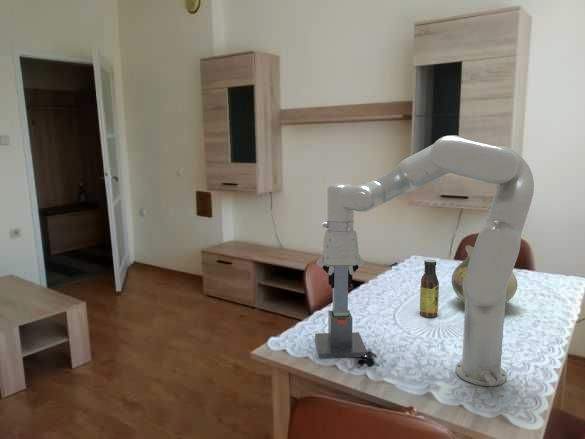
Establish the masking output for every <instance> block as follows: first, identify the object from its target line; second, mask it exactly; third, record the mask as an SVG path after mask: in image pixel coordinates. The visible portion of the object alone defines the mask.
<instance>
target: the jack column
mask: <svg viewBox="0 0 585 439" xmlns="http://www.w3.org/2000/svg"><path fill="white" fill-rule="evenodd" d="M333 274H334V288H332V308H331V311H332V312H333V317H348V310H349V288H348V266H334V268H333Z"/></svg>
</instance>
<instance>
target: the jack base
mask: <svg viewBox="0 0 585 439" xmlns="http://www.w3.org/2000/svg"><path fill="white" fill-rule="evenodd" d="M327 314H328V317H327V319H328V320H327V321H328V325H327V326H328V327H327V328H328V330H327V333H326V332H325V333H323V332H322V333H321V332H320V333H319V332H318V333H314V338H315V339H314V340H315V346H316V349H317V350H316V351H317V354H318V355H317V356H318V358H319V359H339V358H341V359H342V358H346V359H347V358H362V357H361V356H365V355H366V353H367V354H368V350H367V349H366V348H367V347H366V346H365V343H364V340H363V339H362V336H361V334H360V331H359V332H357V331H356V332H354V331H353V316H352V314H351V311H350V310H349V309H348V317H333V312H332V310H328V313H327Z"/></svg>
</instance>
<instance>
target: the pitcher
mask: <svg viewBox="0 0 585 439" xmlns="http://www.w3.org/2000/svg"><path fill="white" fill-rule="evenodd" d="M474 246H475V245H473V244H470V243H469V244H466V245H465V246H464V247H465V252H466V254H467V256H466V258H465V259H464V260H463V261H462V262H460V264H458V266H456V267H455V268H454V270H453V272H452V274H451V287H452V289H453V292H454V293H455V295H456V296H457V297H458V298H459V300H461V301H462V302H463V305H464V307H465V301H466V296H465V294H464V291H463V279H464V277H465V274H466V271H467V267H468V264H469V261H470V258H471V255H472V252H473V249H474ZM517 290H518V279H517V277H516V275H515V273H514V272H513V271H512V274H511V277H510V280H509V282H508V285H507V288H506V299H505V305H506V304H507V303H509V302H510V300H512V299H513V297H514V296H515V294H516V292H517Z"/></svg>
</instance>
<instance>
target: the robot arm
mask: <svg viewBox="0 0 585 439" xmlns="http://www.w3.org/2000/svg"><path fill="white" fill-rule="evenodd" d="M447 174H454V175H457V176H460V177H464V178H468V179H473V180H476V181H480V182H483V183H487V184H493V185H495V191H494V195H493V198H492V201H491V205H490V208H489V212H488V214H487V217H486V219H485V222H484V225H483V227H482V228H481V230H480V232H478V235H477V237H476V241H475V243H474V245H473V246H474V249H473V252H472V255H471V258H470V261H469V264H468V267H467V271H466V274H465V277H464V279H463V291H464V294H465V296H466V301H465V306H464V318H463V319H464V320H463V335H462V336H463V338H462V339H463V340H462V354H461V356H462V358H461V361H459V362H458V363H457V364H455V373H456V374H457V376H458V377H459V378H460V379H462V380H464V381H465V382H467V383H470V384H473V385H476V386H483V387H496V386H499V385H502V384H504V383H505V382H506V381H507V379H508V378H507V377H508V375H507V372H506V371H505V370H504V368H502V355H503V354H502V353H503V340H504V338H503V337H504V336H503V335H504V325H505V324H504V322H505V310H506V309H505V308H506V304H505V299H506V288H507V285H508V282H509V280H510V277H511V274H512V272H513V271H514V268H515V265H516V262H517V259H518V257H519V253H520V249H521V243H522V242H521V241H522V232H523V230H524V226H525V223H526V221H527V218H528V214H529V211H530V208H531V204H532V201H533V196H534V191H535V182H534V180H535V179H534V175H533V173H532V170H531V167H530V165H529V164H528V162H527V161H526V160H525V159H524V157H523V156H521V155H520V153H518V152H517V151H515V150H514V149H513V148H511V147H508V146H504V145H503V146H502V145H499V146H496V145H492V144H487V143H482V142H477V141H475V140H474V141H473V140H471V139H466V138H463V137H461V136H459V135H457V134H455V135H453V134H452V135H445V136H442V137H440V138H438V139H437V140H436V141H435V142H434V143H433V144H431V145H429V146H427V147H425V148H424V149H422V150H420V151H418V152H416V153H414V154H412V155H410V156H409V157H406V158H404V159H403V160H402V161H400V162H399V163H398V165H397V166H396V167H395V168H393V169H392V170H389V171H388V172H386V173H385V174H383V175H381V176H379V177H377V178H375V179H373V180H371V181H369V182H365V183H363V184H358V185H352V184H350V183H346V182H345V183H344V182H343V183H341V182H339V183H337V182H335V183H332V184H331V183H330V184H329V185H328V186H327V219H326V221H325V222H322V228H326V230H325V232H324V237H323V246H322V247H323V248H322V254H321V255H320V256H319V258H318V259H317V261H316V265H317V267H319V268H320V269H322V270H324V272H325V273H327V274H328V282H327V283H328V285H330V288H331V289H333V288H334V274H333V268H334V266H348V289H351V285H353V275H354V273H356V271H357V270H358V269H359V268H361V267H362V266H364V265H365V261H364V260H363V258H362V257H361V256H360V254H359V241H358V233H357V230H355V229H354V222H355V221H354V219H355V217H354V216H355V213H354V211H356V212H361V213H364V212H369V211H371V210H374V209H375V208H378V207H379V206H382V205H384V204H386V203H387V202H390V201H392V200H394V199H395V198H398V197H399V196H402V195H403V194H406V193H409V192H412V191H416V190H417V189H419V188H422V187H423V186H425V185H427V184H429V183H432V182H434V181H436V180H437V179H440V178H441V177H445V176H446V175H447Z"/></svg>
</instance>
